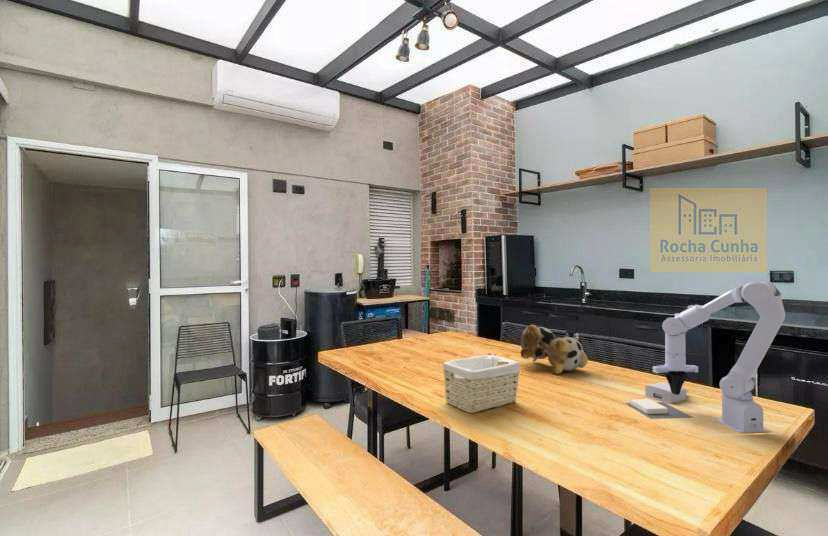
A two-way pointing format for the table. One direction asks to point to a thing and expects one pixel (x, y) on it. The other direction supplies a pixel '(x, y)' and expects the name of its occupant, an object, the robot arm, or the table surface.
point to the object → (481, 382)
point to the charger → (664, 393)
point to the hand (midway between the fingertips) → (675, 393)
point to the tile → (648, 406)
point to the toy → (552, 349)
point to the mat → (671, 414)
